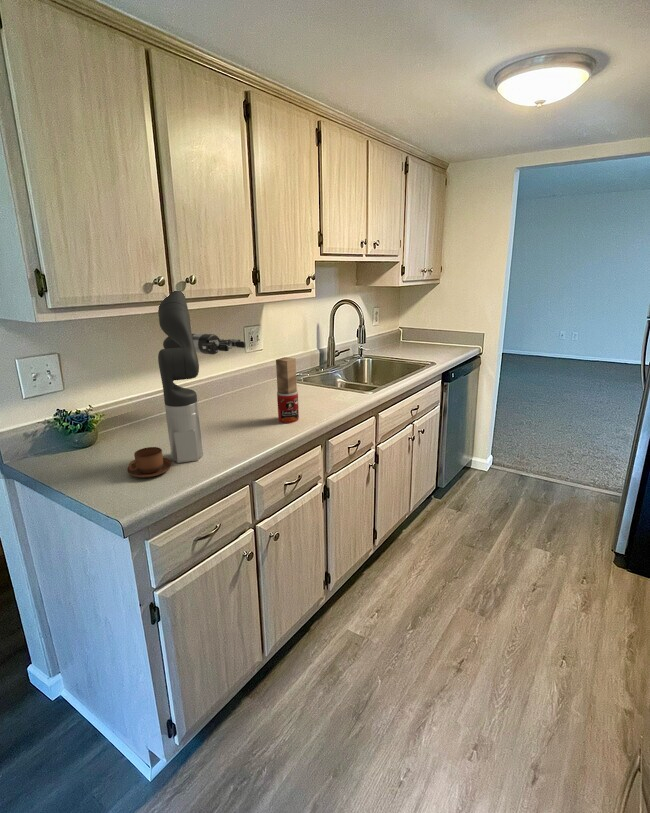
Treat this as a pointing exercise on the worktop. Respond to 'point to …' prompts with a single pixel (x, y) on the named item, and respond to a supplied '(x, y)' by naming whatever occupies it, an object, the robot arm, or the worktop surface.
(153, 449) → the cup and saucer
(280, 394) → the canned food
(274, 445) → the worktop surface
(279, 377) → the walnut block
